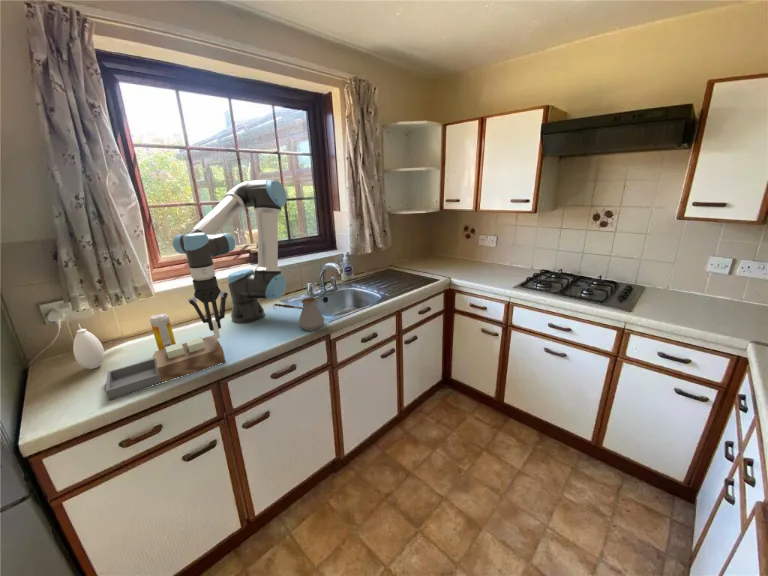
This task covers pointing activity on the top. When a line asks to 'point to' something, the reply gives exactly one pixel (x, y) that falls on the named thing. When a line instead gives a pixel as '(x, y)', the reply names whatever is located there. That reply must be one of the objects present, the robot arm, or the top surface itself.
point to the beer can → (162, 330)
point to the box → (132, 378)
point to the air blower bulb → (87, 349)
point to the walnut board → (189, 360)
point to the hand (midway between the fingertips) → (217, 337)
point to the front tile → (175, 350)
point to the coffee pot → (308, 314)
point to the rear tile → (195, 344)
